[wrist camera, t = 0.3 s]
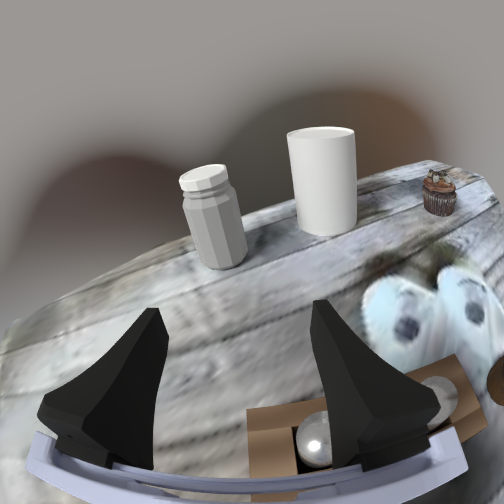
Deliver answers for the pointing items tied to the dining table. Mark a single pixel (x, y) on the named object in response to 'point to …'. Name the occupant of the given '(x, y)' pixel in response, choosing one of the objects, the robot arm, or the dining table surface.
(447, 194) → the cupcake
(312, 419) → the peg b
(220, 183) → the jar
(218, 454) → the dining table surface
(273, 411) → the walnut frame
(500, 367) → the dark brown tall piece
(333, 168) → the canister
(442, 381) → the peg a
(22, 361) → the dining table surface
